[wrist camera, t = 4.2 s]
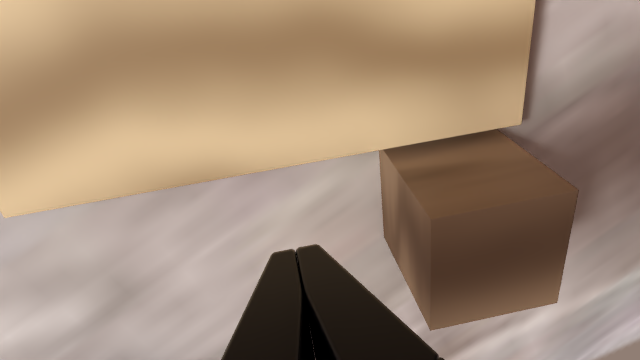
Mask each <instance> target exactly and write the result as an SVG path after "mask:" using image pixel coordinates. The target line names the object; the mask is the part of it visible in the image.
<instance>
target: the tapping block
mask: <svg viewBox="0 0 640 360" xmlns="http://www.w3.org/2000/svg"><path fill="white" fill-rule="evenodd" d="M379 158H380V175H381V193H382V210H383V227H384V238H385V240H386V242H387V244H388V246H389V248H390V250H391V252H392V254H393V256H394V258H395V260H396V262H397V264H398V266H399V268H400V270H401V272H402V274H403V276H404V278H405V280H406V282H407V284H408V286H409V288H410V290H411V292H412V294H413V296H414V298H415V300H416V302H417V304H418V306H419V308H420V311H421V313H422V315H423V317H424V319H425V321H426V323H427V325H428V327H429V329H430V331H431V330H435V329H440V328H445V327H449V326H454V325H458V324H463V323H467V322H472V321H476V320H481V319H485V318H490V317H495V316H499V315H504V314H508V313H513V312H517V311H522V310H526V309H531V308H536V307H540V306H545V305H549V304H554V303H557V301H558V295H559V290H560V285H561V280H562V275H563V269H564V264H565V259H566V254H567V249H568V244H569V238H570V233H571V228H572V223H573V218H574V212H575V207H576V202H577V197H578V192H579V190H578V189H577V188H575V187H574V186H573V185H571V184H570V183H569V182H567V181H566V180H565V179H563V178H562V177H560V176H559V175H558V174H556V173H555V172H554V171H552V170H551V169H550V168H548V167H547V166H546V165H544V164H543V163H542V162H540V161H539V160H538V159H536V158H535V157H534V156H532V155H531V154H529V153H528V152H527V151H525V150H524V149H523V148H521V147H520V146H519V145H517V144H516V143H515V142H513V141H512V140H511V139H509V138H508V137H507V136H505V135H504V134H502V133H501V132H500V131H498V130H497V129H493V130H488V131H482V132H477V133H471V134H466V135H460V136H455V137H449V138H444V139H438V140H433V141H427V142H421V143H416V144H410V145H405V146H399V147H394V148H388V149H383V150H379Z"/></svg>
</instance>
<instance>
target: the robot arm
mask: <svg viewBox="0 0 640 360" xmlns="http://www.w3.org/2000/svg"><path fill="white" fill-rule="evenodd" d="M296 256H297V257H296ZM297 261H298V262H297ZM309 326H310V327H309ZM310 331H311V332H310ZM311 337H312V338H311ZM312 342H313V343H312ZM313 347H314V349H313ZM314 353H315V354H314ZM315 358H316V360H444V359H443V358H439V355H438V354H437V353H436V352H435V351H434V350H433V349H432V348H431V347H430V346H429V345H427V344H426V343H425V342H424V341H423V340H422V339H421V338H420V337H419V336H418V335H417V334H415V333H414V332H413V331H412V330H411V329H410V328H409V327H408V326H407V325H406V324H405V323H403V322H402V321H401V320H400V319H399V318H398V317H397V316H396V315H395V314H394V313H393V312H391V311H390V310H389V309H388V308H387V307H386V306H385V305H384V304H383V303H382V302H381V301H379V300H378V299H377V298H376V297H375V296H374V295H373V294H372V293H371V292H370V291H368V290H367V289H366V288H365V287H364V286H363V285H362V284H361V283H360V282H359V281H358V280H356V279H355V278H354V277H353V276H352V275H351V274H350V273H349V272H348V271H347V270H346V269H344V268H343V267H342V266H341V265H340V264H339V263H338V262H337V261H336V260H335V259H334V258H332V257H331V256H330V255H329V254H328V253H327V252H326V251H325V250H324V249H323V248H322V247H320V246H319V245H317V244H314V245H309V246H304V247H299V248H297V250H296V252H295V250H293V249H289V250H284V251H279V252H274V253H273V254H272V255H271V257H270V259H269V261H268V263H267V265H266V267H265V269H264V271H263V273H262V275H261V277H260V279H259V282H258V284H257V286H256V288H255V290H254V292H253V294H252V296H251V298H250V300H249V302H248V304H247V307H246V309H245V311H244V313H243V315H242V317H241V319H240V321H239V323H238V325H237V327H236V330H235V332H234V334H233V336H232V338H231V340H230V342H229V344H228V346H227V348H226V350H225V352H224V355H223V357H222V359H221V360H315Z"/></svg>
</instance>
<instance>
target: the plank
mask: <svg viewBox="0 0 640 360" xmlns="http://www.w3.org/2000/svg"><path fill="white" fill-rule="evenodd" d="M535 1H536V0H0V211H1V213H2V215H3V216H4V218H7V217H13V216H18V215H24V214H29V213H35V212H40V211H46V210H52V209H57V208H63V207H68V206H74V205H79V204H85V203H90V202H96V201H101V200H107V199H112V198H118V197H123V196H129V195H134V194H140V193H145V192H151V191H156V190H162V189H167V188H173V187H179V186H184V185H190V184H195V183H201V182H206V181H212V180H217V179H223V178H228V177H234V176H239V175H245V174H250V173H256V172H261V171H267V170H272V169H278V168H283V167H289V166H294V165H300V164H306V163H311V162H317V161H322V160H328V159H333V158H339V157H344V156H350V155H355V154H361V153H366V152H372V151H377V150H383V149H388V148H394V147H399V146H405V145H410V144H416V143H421V142H427V141H433V140H438V139H444V138H449V137H455V136H460V135H466V134H471V133H477V132H482V131H488V130H493V129H499V128H504V127H510V126H515V125H521V122H522V113H523V105H524V96H525V87H526V79H527V70H528V61H529V53H530V44H531V35H532V27H533V18H534V10H535Z"/></svg>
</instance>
